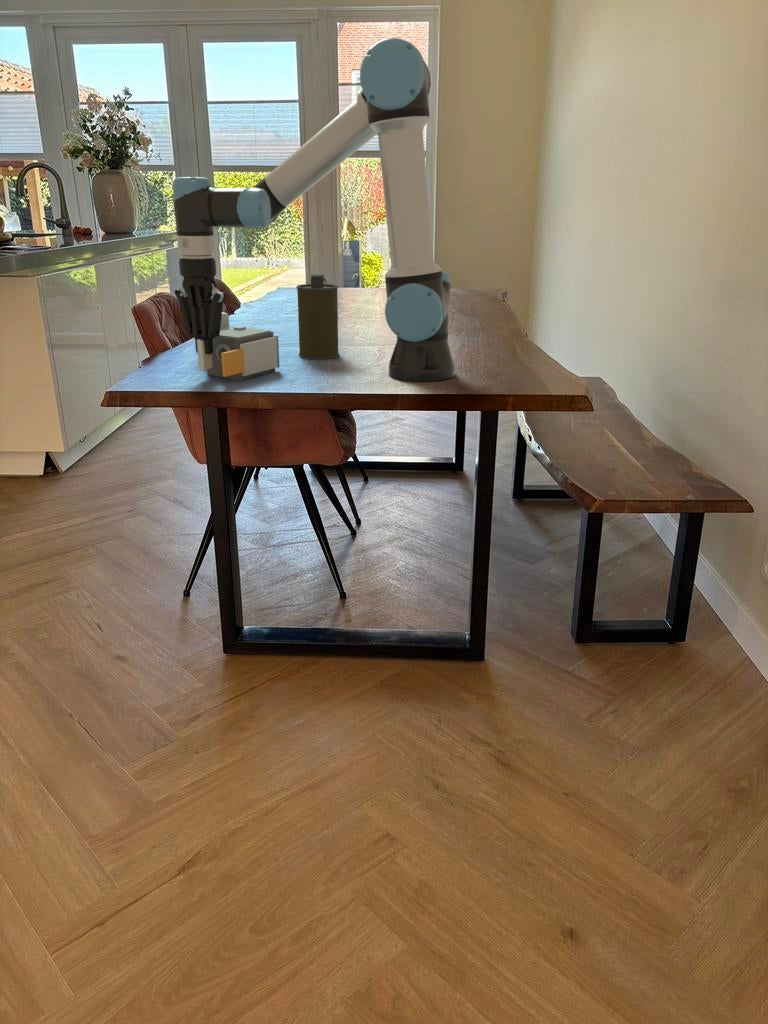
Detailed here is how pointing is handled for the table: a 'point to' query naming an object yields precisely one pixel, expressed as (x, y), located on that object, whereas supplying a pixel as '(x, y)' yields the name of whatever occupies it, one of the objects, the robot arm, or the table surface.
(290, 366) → the table surface
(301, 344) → the canister
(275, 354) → the side door
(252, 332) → the camera body
